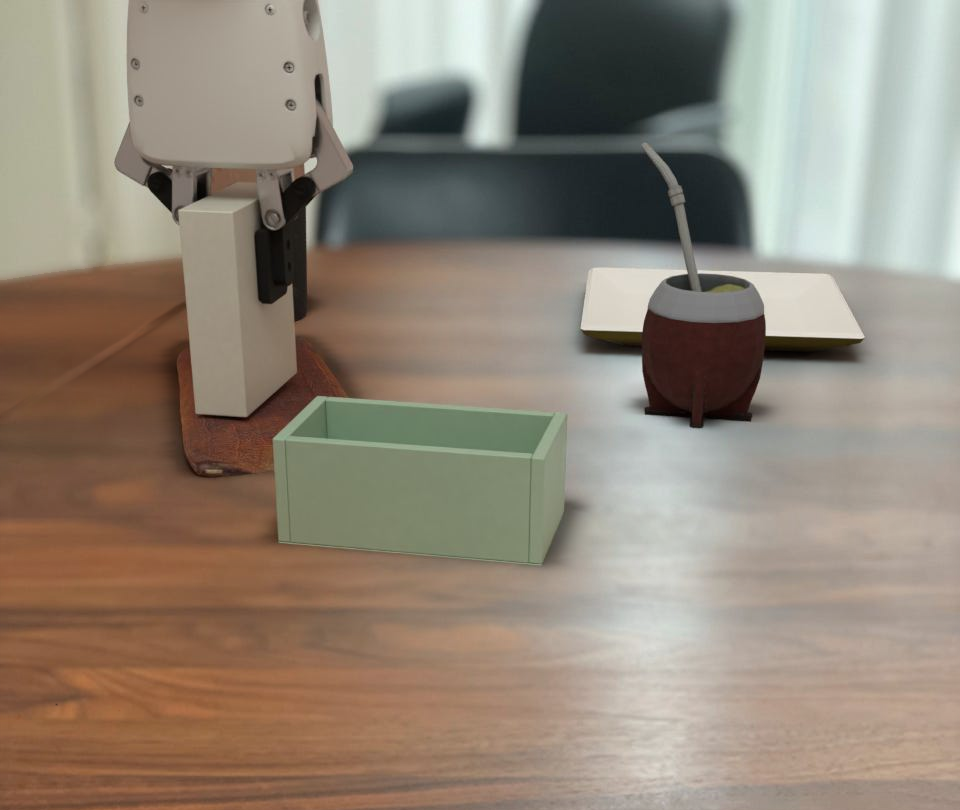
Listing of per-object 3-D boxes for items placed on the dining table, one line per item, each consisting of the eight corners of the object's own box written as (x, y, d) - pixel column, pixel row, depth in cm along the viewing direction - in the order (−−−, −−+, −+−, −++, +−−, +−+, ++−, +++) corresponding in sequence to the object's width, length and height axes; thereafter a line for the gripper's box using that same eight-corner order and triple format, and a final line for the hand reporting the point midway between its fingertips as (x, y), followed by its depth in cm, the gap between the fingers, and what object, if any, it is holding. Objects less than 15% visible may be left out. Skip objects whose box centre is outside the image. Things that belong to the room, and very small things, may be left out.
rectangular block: (249, 370, 90) (236, 181, 85) (297, 372, 90) (287, 183, 85) (195, 414, 82) (177, 209, 78) (247, 418, 82) (232, 211, 77)
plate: (587, 293, 117) (588, 266, 116) (830, 300, 116) (833, 273, 115) (579, 356, 100) (580, 326, 99) (862, 365, 99) (866, 335, 98)
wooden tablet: (380, 478, 79) (379, 448, 78) (187, 489, 77) (184, 458, 76) (322, 345, 102) (321, 321, 102) (173, 352, 100) (171, 327, 100)
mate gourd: (757, 441, 85) (783, 166, 78) (618, 432, 86) (632, 160, 79) (757, 402, 91) (781, 146, 85) (628, 395, 92) (642, 141, 86)
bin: (278, 551, 70) (272, 438, 67) (321, 501, 76) (316, 395, 73) (541, 574, 67) (544, 458, 65) (563, 520, 73) (567, 412, 71)
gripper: (393, -68, 77) (400, 289, 85) (97, -69, 80) (131, 275, 88) (353, -65, 71) (365, 321, 79) (32, -67, 74) (75, 305, 82)
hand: (241, 293), depth 84 cm, fingers closed on rectangular block, 3 cm apart
